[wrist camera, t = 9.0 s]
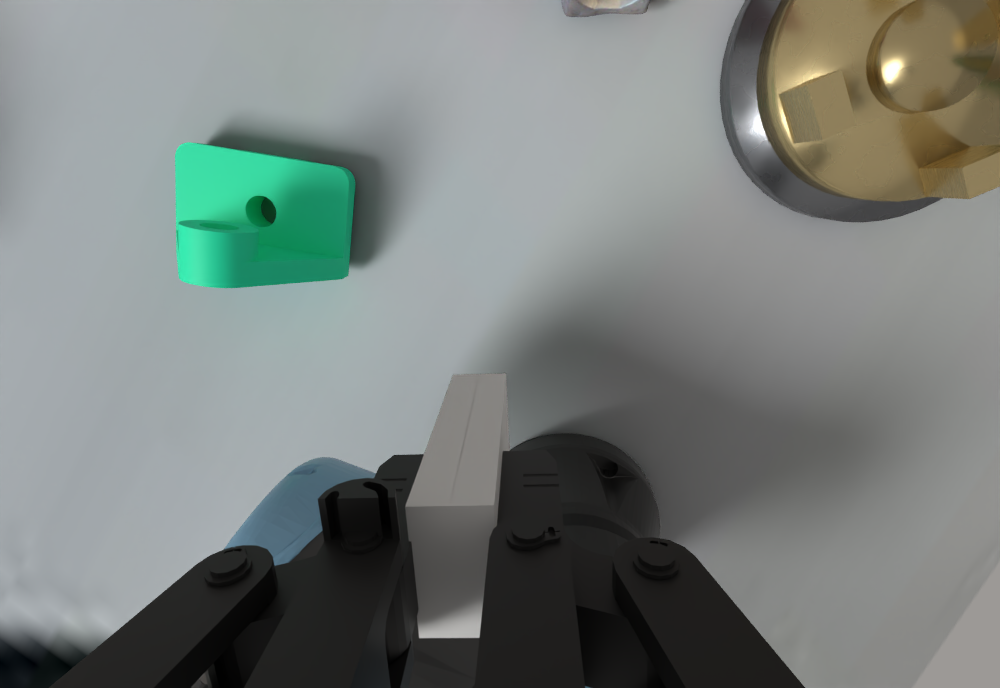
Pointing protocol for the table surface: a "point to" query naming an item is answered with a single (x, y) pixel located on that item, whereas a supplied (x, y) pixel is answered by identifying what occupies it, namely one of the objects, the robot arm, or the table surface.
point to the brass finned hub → (884, 96)
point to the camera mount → (260, 218)
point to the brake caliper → (603, 7)
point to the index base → (753, 141)
